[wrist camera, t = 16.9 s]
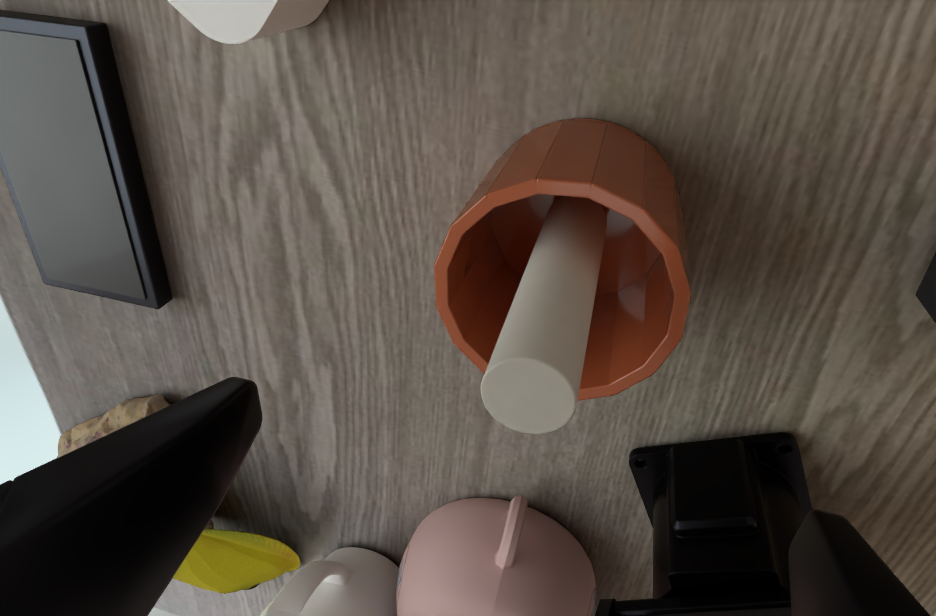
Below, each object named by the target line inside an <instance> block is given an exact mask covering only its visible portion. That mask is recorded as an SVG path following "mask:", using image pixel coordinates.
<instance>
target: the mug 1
mask: <svg viewBox="0 0 936 616" xmlns="http://www.w3.org/2000/svg"><path fill="white" fill-rule="evenodd" d="M398 574H399V568H398V567H397V566H396V565H395V564H394V563H393V562H392V561H390V560H389V559H388V558H386V557H384V556H382V555H381V554H378V553H376V552H374V551H371V550H368V549H364V548H358V547H345V548H341V549H338V550H335V551H334V552H332V553H331V554H330V555H328V556H327V557H326V558H325V559H323V560H320V561H314V562H311V563H308V564H306V565H305V566H303V567H301V568H300V569H299V570H298V571H296V572H295V573H294V574H293V575H292V576H291V577H290V578H289V580H288V581H287V582H286V583H285V584H284V586H283V587H282V588H281V590H280V591H279V592H278V594H277V595H276V597H275V598H274V600H273V601H272V602H271V603H270V604H269V605H268V606H267V607H266V608H265V609H264V611H263V612H262V613H261V614H260V616H397V599H396V589H397V581H398Z"/></svg>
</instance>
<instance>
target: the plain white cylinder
mask: <svg viewBox="0 0 936 616" xmlns="http://www.w3.org/2000/svg"><path fill="white" fill-rule="evenodd" d="M606 228H607V216H606V213H605V211H604V208H603V205H601V204H599V203H597V202H595V201H593V200H591V199H589V198H583V197H571V196H561V197H560V198H559V199H557V200H556V201H555V202H554V203H553V204H552V205H551V207H550V208H549V210H548V213H547V215H546V218H545V220H544V223H543V225H542V228H541V230H540V233H539V236H538V238H537V241H536V243H535V246H534V248H533V251H532V254H531V256H530V259H529V261H528V264H527V266H526V269H525V271H524V274H523V277H522V279H521V282H520V284H519V287H518V289H517V292H516V294H515V297H514V300H513V302H512V305H511V307H510V310H509V312H508V315H507V318H506V320H505V323H504V325H503V328H502V330H501V333H500V335H499V338H498V341H497V343H496V346H495V348H494V351H493V353H492V356H491V359H490V361H489V364H488V366H487V369H486V371H485V374H484V376H483V379H482V383H481V396H482V400H483V402H484V405H485V407H486V408H487V410H488V411H489V413H490V414H491V415H492V416H493V417H494V418H495V419H496V420H497V421H499V422H500V423H501V424H503V425H505V426H506V427H508V428H510V429H513V430H515V431H518V432H522V433H528V434H544V433H549V432H553V431H555V430H558V429H560V428H561V427H563V426H564V425H565V424H567V423H568V422H569V420H570V419H571V418H572V416H573V415H574V413H575V410H576V406H577V400H578V394H579V388H580V382H581V376H582V370H583V365H584V359H585V353H586V347H587V341H588V335H589V329H590V323H591V317H592V311H593V305H594V299H595V294H596V288H597V282H598V276H599V270H600V264H601V258H602V252H603V246H604V240H605V234H606Z"/></svg>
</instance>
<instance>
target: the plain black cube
mask: <svg viewBox="0 0 936 616" xmlns="http://www.w3.org/2000/svg"><path fill="white" fill-rule="evenodd" d="M916 296H917V298H918V299H919V301H920V302H921V303H922V305H923V306H924V308H925V309H926V310H927V312H928V313H929V315H930V316H931V317H932V319H933V320H934V322H935V323H936V253H935V255H934V257H933V259H932V261H931V264H930V266H929V268H928V270H927V272H926V274H925V276H924V278H923V280H922V282H921V284H920V286H919V289H918V291H917V293H916Z"/></svg>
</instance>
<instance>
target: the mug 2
mask: <svg viewBox="0 0 936 616" xmlns="http://www.w3.org/2000/svg"><path fill="white" fill-rule="evenodd" d="M527 506H528V505H527V499H526V498H525V497H524V496H523V495H515V496H514V498H513V499H512V500H511V502H510V501H506V500H502V499H493V498H469V499H461V500H457V501H454V502H450V503H447V504H445V505H443V506H441V507H439V508H438V509H436V510H434V511H432V512H431V513H430V514H429V515H428V516H427V517H426V518H424V519H423V520H422V521H421V523H420V524H419V526H418V527H417V529H416V530H415V532H414V534H413V536H412V538H411V540H410V542H409V544H408V546H407V548H406V550H405V553H404V555H403V558H402V561H401V564H400V568H399V574H398V581H397V589H396V599H397V616H595V604H596V583H595V576H594V572H593V568H592V564H591V561H590V560H589V558H588V556H587V555H586V553H585V551H584V549H583V548H582V546H581V544H580V543H579V542H578V541H577V540H576V539H575V537H574V536H573V535H572V534H571V533H570V532H569V531H568V530H567V529H565V528H564V527H563V526H561V525H560V524H559V523H557V522H556V521H555V520H553V519H552V518H550V517H548V516H546V515H544V514H542V513H541V512H539V511H537V510H535V509H532V508H529V507H527Z"/></svg>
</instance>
